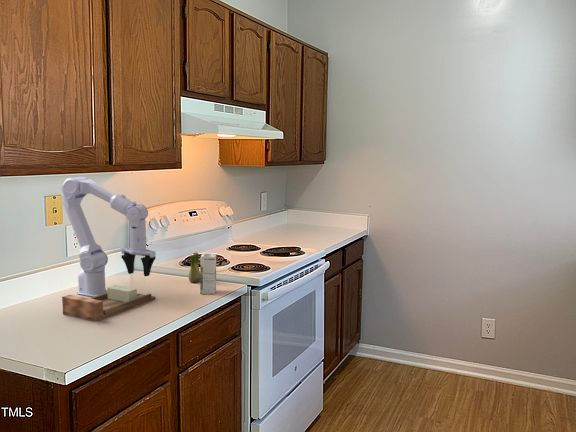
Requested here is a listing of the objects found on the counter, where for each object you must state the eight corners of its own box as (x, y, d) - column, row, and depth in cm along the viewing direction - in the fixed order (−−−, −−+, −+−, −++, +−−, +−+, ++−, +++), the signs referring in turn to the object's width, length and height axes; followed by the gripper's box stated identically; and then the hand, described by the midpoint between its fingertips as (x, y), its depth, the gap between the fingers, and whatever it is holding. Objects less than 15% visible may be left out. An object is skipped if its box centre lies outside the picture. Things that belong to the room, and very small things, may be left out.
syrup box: (201, 290, 208) (200, 253, 206) (216, 290, 209) (216, 253, 207) (200, 294, 202) (199, 256, 201) (215, 294, 203) (215, 256, 201)
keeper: (107, 298, 192) (107, 287, 191) (115, 295, 195) (115, 285, 195) (129, 302, 187) (128, 291, 187) (137, 299, 191) (136, 288, 190)
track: (63, 314, 178) (62, 296, 177) (124, 293, 202) (123, 278, 202) (96, 321, 171) (95, 303, 170) (155, 299, 196) (154, 283, 195)
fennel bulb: (192, 284, 217) (192, 255, 215) (185, 282, 220) (184, 253, 219) (203, 281, 221) (203, 253, 219) (196, 279, 224) (196, 251, 223)
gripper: (114, 237, 196) (116, 274, 197) (145, 241, 189) (146, 279, 191) (128, 235, 202) (129, 270, 204) (159, 238, 195) (159, 275, 197)
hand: (138, 274), depth 198 cm, fingers open, 7 cm apart
